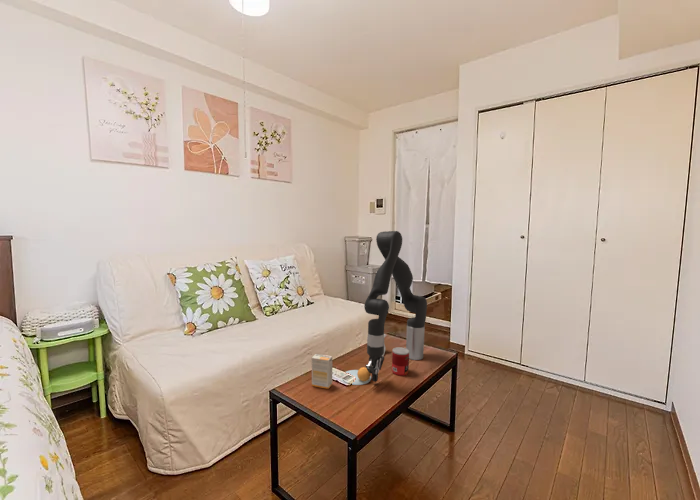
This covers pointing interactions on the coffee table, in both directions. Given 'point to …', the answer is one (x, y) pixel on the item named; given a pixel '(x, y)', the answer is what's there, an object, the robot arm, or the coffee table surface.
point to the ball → (363, 374)
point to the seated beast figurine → (384, 344)
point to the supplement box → (322, 371)
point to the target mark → (357, 381)
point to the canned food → (400, 361)
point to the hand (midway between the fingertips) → (374, 380)
